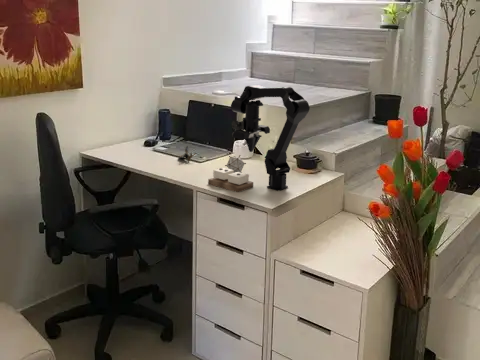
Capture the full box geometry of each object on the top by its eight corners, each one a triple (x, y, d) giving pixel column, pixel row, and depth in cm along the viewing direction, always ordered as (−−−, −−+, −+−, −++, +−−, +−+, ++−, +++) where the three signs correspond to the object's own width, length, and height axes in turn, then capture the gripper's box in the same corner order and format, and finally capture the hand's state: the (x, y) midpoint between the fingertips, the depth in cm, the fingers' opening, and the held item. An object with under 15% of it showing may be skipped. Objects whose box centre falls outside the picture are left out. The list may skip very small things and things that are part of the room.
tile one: (248, 181, 237) (248, 173, 236) (239, 184, 232) (239, 176, 231) (237, 178, 240) (237, 171, 239) (227, 181, 236) (228, 174, 235)
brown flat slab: (253, 186, 238) (253, 182, 238) (237, 192, 231) (238, 187, 230) (224, 178, 248) (224, 174, 247) (208, 183, 241) (208, 179, 240)
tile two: (233, 176, 242) (233, 169, 241) (224, 180, 237) (224, 172, 236) (222, 174, 245) (222, 166, 244) (213, 177, 241) (213, 169, 240)
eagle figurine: (199, 158, 274) (190, 151, 281) (193, 148, 270) (184, 140, 276) (186, 168, 273) (178, 160, 279) (180, 157, 268) (172, 150, 275)
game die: (238, 182, 256) (243, 168, 249) (220, 174, 257) (225, 160, 249) (245, 168, 262) (250, 154, 254) (228, 160, 262) (232, 146, 255)
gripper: (250, 110, 253) (249, 144, 257) (222, 115, 239) (222, 152, 244) (271, 113, 246) (269, 149, 251) (243, 119, 232) (242, 157, 237)
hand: (250, 151), depth 246 cm, fingers closed
